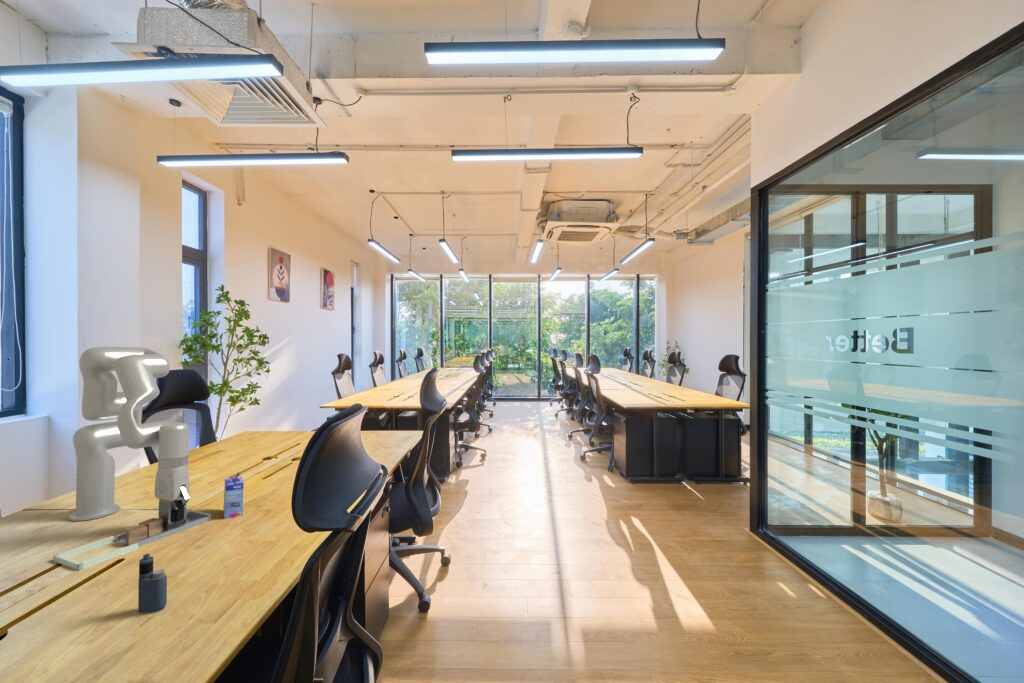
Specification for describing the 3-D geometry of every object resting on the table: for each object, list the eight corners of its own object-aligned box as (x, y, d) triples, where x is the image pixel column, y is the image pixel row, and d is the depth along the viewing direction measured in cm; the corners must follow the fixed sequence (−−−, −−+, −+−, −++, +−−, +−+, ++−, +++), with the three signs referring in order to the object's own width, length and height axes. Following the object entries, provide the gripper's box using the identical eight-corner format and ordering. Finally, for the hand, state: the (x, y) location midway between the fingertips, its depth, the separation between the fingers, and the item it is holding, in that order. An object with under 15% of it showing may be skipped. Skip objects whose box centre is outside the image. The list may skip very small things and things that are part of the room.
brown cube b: (125, 542, 120) (126, 528, 120) (143, 537, 123) (144, 524, 123) (129, 546, 117) (129, 532, 117) (147, 541, 121) (147, 527, 121)
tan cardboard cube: (138, 536, 124) (138, 523, 124) (152, 530, 127) (152, 517, 128) (148, 537, 123) (149, 524, 123) (162, 531, 127) (163, 518, 127)
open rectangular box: (115, 544, 121) (115, 534, 121) (190, 518, 139) (190, 509, 139) (137, 550, 117) (137, 540, 117) (210, 523, 135) (211, 514, 135)
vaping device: (144, 606, 91) (145, 552, 92) (169, 604, 92) (170, 551, 92) (134, 613, 89) (135, 558, 89) (160, 612, 89) (161, 556, 89)
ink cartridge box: (243, 518, 139) (244, 475, 140) (223, 522, 136) (224, 479, 136) (241, 509, 147) (242, 469, 147) (223, 513, 144) (223, 472, 144)
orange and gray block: (158, 527, 128) (158, 499, 129) (176, 520, 133) (176, 494, 133) (168, 529, 127) (168, 502, 127) (186, 523, 131) (186, 496, 131)
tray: (53, 564, 109) (53, 555, 109) (112, 544, 121) (112, 535, 121) (78, 574, 104) (78, 564, 105) (137, 552, 116) (137, 543, 116)
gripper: (143, 462, 130) (142, 520, 129) (176, 468, 124) (175, 528, 123) (170, 456, 137) (169, 511, 136) (203, 462, 131) (202, 519, 130)
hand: (172, 518), depth 130 cm, fingers closed on orange and gray block, 5 cm apart
